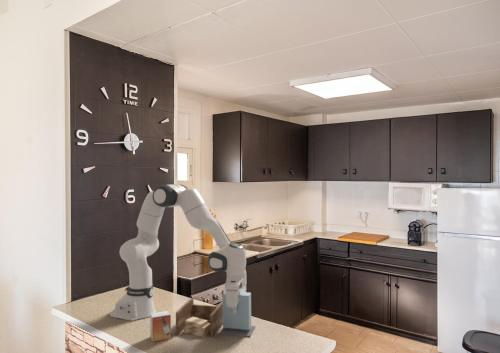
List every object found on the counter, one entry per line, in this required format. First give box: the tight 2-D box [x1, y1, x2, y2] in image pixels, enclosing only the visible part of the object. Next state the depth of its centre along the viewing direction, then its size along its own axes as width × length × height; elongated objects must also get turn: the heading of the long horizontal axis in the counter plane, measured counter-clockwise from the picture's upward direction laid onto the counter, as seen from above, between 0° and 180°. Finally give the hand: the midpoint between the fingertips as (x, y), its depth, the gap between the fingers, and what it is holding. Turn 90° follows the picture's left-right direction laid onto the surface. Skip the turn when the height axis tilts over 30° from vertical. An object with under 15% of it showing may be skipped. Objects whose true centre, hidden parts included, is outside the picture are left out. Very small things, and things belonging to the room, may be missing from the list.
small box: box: [149, 310, 172, 343], centre depth 158 cm, size 8×6×10 cm
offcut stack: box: [182, 317, 211, 338], centre depth 163 cm, size 11×6×5 cm, turn 64°
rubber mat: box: [218, 325, 256, 338], centre depth 164 cm, size 14×10×1 cm
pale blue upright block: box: [222, 290, 252, 330], centre depth 164 cm, size 12×4×15 cm, turn 77°
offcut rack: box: [175, 297, 223, 339], centre depth 167 cm, size 17×18×10 cm
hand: (236, 310), depth 164 cm, fingers closed on pale blue upright block, 4 cm apart
